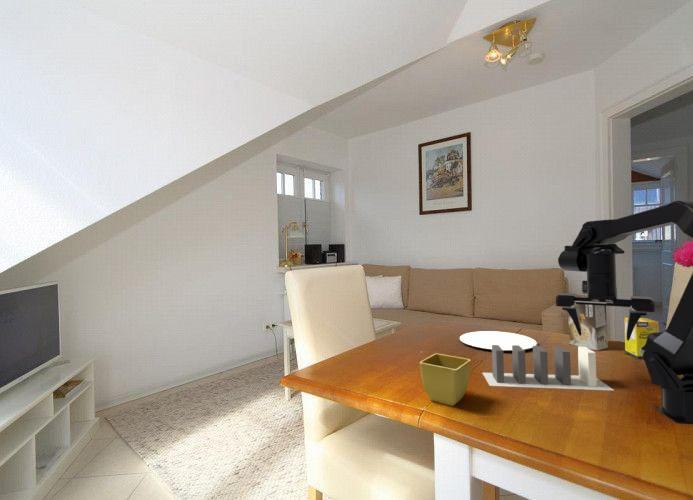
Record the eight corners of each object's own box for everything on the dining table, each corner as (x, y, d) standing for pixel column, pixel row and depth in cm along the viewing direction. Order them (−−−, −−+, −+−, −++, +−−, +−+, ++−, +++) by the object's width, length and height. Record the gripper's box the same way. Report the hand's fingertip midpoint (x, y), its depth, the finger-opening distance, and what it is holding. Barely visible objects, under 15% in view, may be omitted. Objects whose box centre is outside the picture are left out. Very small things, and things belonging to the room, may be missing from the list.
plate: (445, 339, 131) (445, 334, 131) (500, 332, 138) (500, 328, 138) (492, 358, 107) (492, 353, 107) (555, 349, 114) (555, 344, 114)
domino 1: (504, 383, 86) (503, 350, 86) (497, 382, 86) (496, 350, 86) (499, 375, 91) (498, 345, 91) (492, 375, 91) (491, 344, 91)
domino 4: (571, 385, 83) (570, 352, 83) (563, 385, 84) (562, 351, 84) (562, 377, 88) (561, 346, 88) (555, 377, 88) (554, 346, 88)
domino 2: (526, 383, 85) (525, 351, 85) (518, 383, 85) (518, 351, 85) (519, 376, 90) (518, 345, 90) (513, 376, 90) (512, 345, 90)
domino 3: (548, 384, 84) (547, 351, 84) (541, 384, 84) (540, 351, 84) (540, 377, 89) (539, 345, 89) (533, 376, 89) (532, 345, 89)
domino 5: (596, 386, 82) (595, 352, 82) (589, 386, 83) (588, 352, 83) (585, 378, 87) (585, 346, 87) (578, 378, 87) (577, 346, 87)
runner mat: (614, 392, 80) (614, 390, 80) (489, 387, 85) (489, 385, 85) (594, 377, 89) (593, 376, 89) (482, 374, 94) (482, 372, 94)
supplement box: (660, 359, 100) (659, 321, 100) (636, 359, 102) (635, 321, 102) (647, 353, 106) (646, 317, 106) (624, 352, 107) (623, 317, 107)
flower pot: (436, 389, 84) (435, 352, 84) (472, 398, 79) (471, 358, 79) (419, 402, 78) (418, 362, 78) (457, 413, 72) (456, 370, 72)
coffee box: (609, 348, 113) (607, 298, 113) (597, 351, 110) (595, 300, 110) (579, 341, 121) (578, 295, 121) (568, 344, 118) (566, 297, 118)
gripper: (649, 271, 85) (652, 335, 85) (560, 270, 96) (562, 327, 96) (653, 274, 76) (656, 346, 76) (554, 273, 87) (556, 335, 87)
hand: (603, 337), depth 84 cm, fingers open, 9 cm apart
